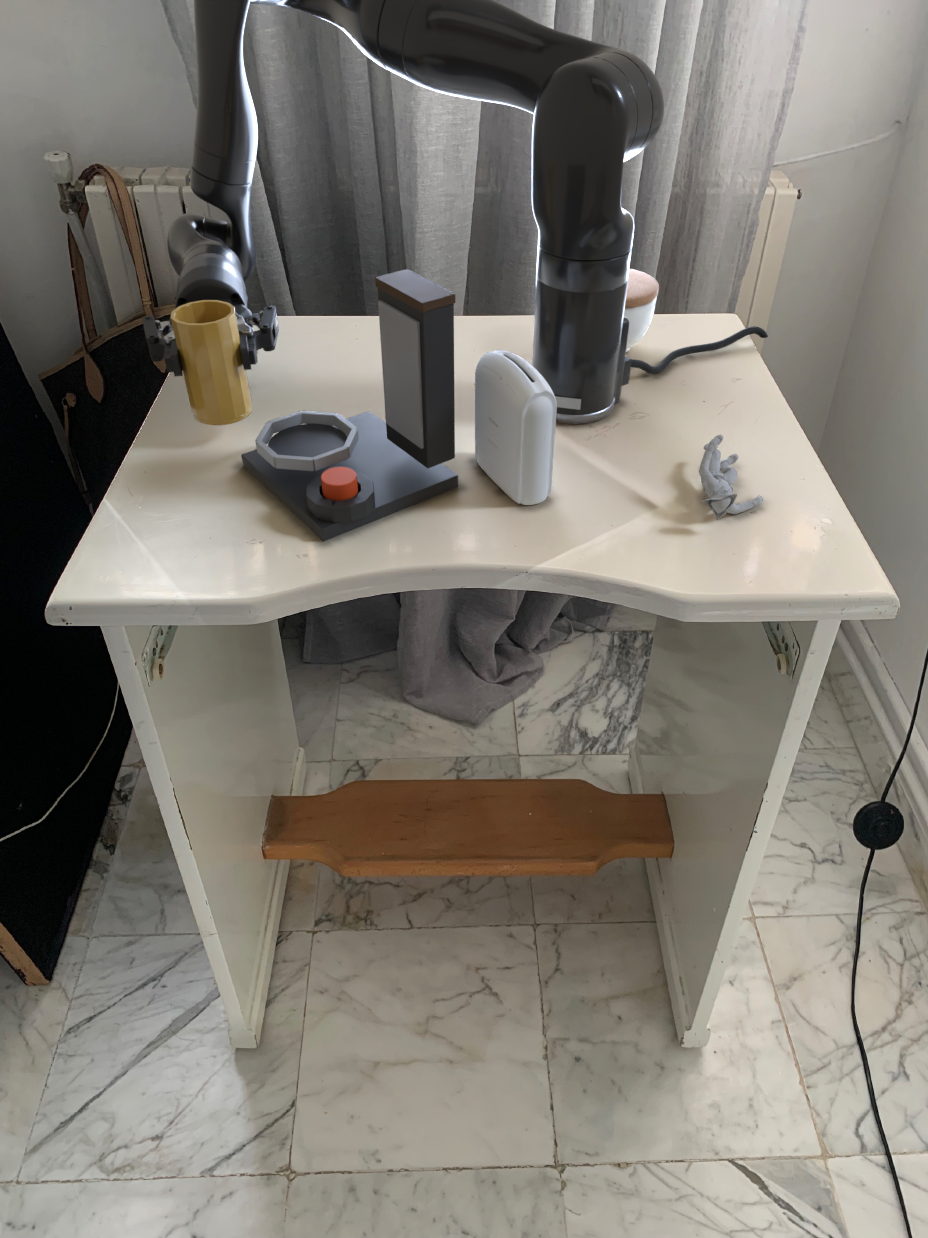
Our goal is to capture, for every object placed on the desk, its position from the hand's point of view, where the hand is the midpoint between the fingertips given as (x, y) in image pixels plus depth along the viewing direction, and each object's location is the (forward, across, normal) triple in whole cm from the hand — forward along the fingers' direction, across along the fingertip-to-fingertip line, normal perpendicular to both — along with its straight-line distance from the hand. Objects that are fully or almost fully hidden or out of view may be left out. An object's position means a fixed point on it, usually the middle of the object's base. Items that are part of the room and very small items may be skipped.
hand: (211, 363), depth 87 cm
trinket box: (-15, +46, +10) cm, 50 cm away
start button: (+15, +10, +7) cm, 19 cm away
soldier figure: (+19, +46, +10) cm, 50 cm away
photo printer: (+12, +27, +9) cm, 31 cm away
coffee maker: (+8, +12, +6) cm, 16 cm away
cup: (-2, 0, +6) cm, 7 cm away
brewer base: (+8, +12, +9) cm, 17 cm away
